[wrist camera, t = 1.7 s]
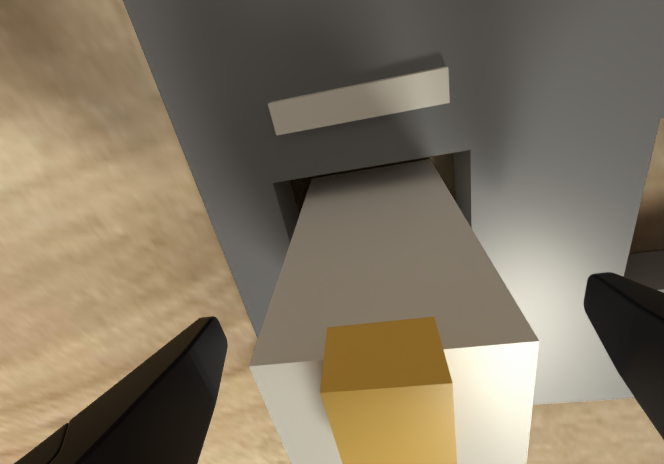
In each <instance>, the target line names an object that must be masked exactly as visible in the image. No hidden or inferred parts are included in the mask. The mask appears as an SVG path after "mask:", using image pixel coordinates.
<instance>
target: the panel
mask: <svg viewBox="0 0 664 464" xmlns="http://www.w3.org/2000/svg"><path fill="white" fill-rule="evenodd" d="M123 2H124V4H125V7H126V9H127V12H128V14H129V17H130V19H131V22H132V24H133V27H134V29H135V32H136V34H137V37H138V39H139V42H140V44H141V47H142V49H143V52H144V54H145V57H146V59H147V62H148V64H149V67H150V69H151V72H152V74H153V77H154V79H155V82H156V84H157V87H158V89H159V92H160V94H161V97H162V99H163V102H164V105H165V107H166V110H167V112H168V115H169V117H170V120H171V122H172V125H173V127H174V130H175V132H176V135H177V137H178V140H179V142H180V145H181V147H182V150H183V152H184V155H185V157H186V160H187V162H188V165H189V167H190V170H191V172H192V175H193V177H194V180H195V182H196V185H197V187H198V190H199V192H200V195H201V197H202V200H203V202H204V205H205V207H206V210H207V212H208V215H209V218H210V220H211V223H212V225H213V228H214V230H215V233H216V235H217V238H218V240H219V243H220V245H221V248H222V250H223V253H224V255H225V258H226V260H227V263H228V265H229V268H230V270H231V273H232V275H233V278H234V280H235V283H236V285H237V288H238V290H239V293H240V295H241V298H242V300H243V303H244V305H245V308H246V310H247V313H248V315H249V318H250V320H251V323H252V326H253V328H254V331H255V333H256V336H257V338H259V335H260V332H261V329H262V326H263V323H264V320H265V317H266V314H267V311H268V308H269V305H270V302H271V299H272V296H273V293H274V290H275V287H276V284H277V281H278V278H279V275H280V272H281V269H282V266H283V263H284V260H285V257H286V254H287V251H288V248H289V245H290V242H291V239H292V236H293V233H294V230H295V227H296V224H297V221H298V218H299V212H298V208H297V204H296V201H295V197H294V193H293V189H292V186H291V182H290V180H294V179H300V178H306V177H312V176H318V175H323V174H329V173H335V172H341V171H347V170H353V169H359V168H365V167H371V166H377V165H383V164H389V163H395V162H401V161H407V160H413V159H419V158H425V157H431V156H437V155H443V154H449V153H454V179H455V202H456V203H457V205H458V207H459V208H460V210H461V212H462V213H463V215H464V217H465V218H466V220H467V222H468V223H469V225H470V227H471V228H472V230H473V232H474V233H475V235H476V237H477V238H478V240H479V242H480V243H481V245H482V247H483V248H484V250H485V252H486V253H487V255H488V257H489V258H490V260H491V262H492V263H493V265H494V267H495V268H496V270H497V272H498V273H499V275H500V276H501V278H502V280H503V281H504V283H505V285H506V286H507V288H508V290H509V291H510V293H511V295H512V296H513V298H514V300H515V301H516V303H517V305H518V306H519V308H520V310H521V311H522V313H523V315H524V316H525V318H526V320H527V321H528V323H529V325H530V326H531V328H532V330H533V331H534V333H535V335H536V336H537V338H538V340H539V349H538V358H537V368H536V377H535V387H534V396H533V405H534V404H550V403H566V402H582V401H598V400H614V399H630V398H635V397H634V396H633V394H632V393H631V391H630V390H629V388H628V387H627V386H626V384H625V383H624V381H623V379H622V378H621V376H620V375H619V373H618V371H617V370H616V368H615V366H614V365H613V363H612V361H611V359H610V357H609V355H608V353H607V352H606V350H605V348H604V346H603V344H602V342H601V341H600V339H599V337H598V335H597V333H596V331H595V329H594V328H593V326H592V324H591V322H590V320H589V318H588V316H587V315H586V312H585V310H584V296H585V290H586V284H587V279H588V277H589V276H590V275H591V274H595V273H604V272H612V273H615V274H618V275H620V276H623V277H625V278H628V279H630V280H633V281H636V282H638V283H641V284H643V285H646V286H648V287H651V288H653V289H656V290H658V291H661V292H663V293H664V250H660V251H651V252H643V253H634V254H629V251H630V247H631V242H632V238H633V234H634V229H635V225H636V221H637V216H638V212H639V208H640V203H641V199H642V195H643V190H644V186H645V182H646V177H647V173H648V169H649V164H650V160H651V156H652V151H653V147H654V143H655V138H656V134H657V130H658V125H659V121H660V118H663V117H664V0H123Z"/></svg>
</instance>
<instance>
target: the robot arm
mask: <svg viewBox="0 0 664 464" xmlns="http://www.w3.org/2000/svg"><path fill="white" fill-rule="evenodd" d="M584 310H585V312H586V315H587V316H588V318H589V320H590V322H591V324H592V326H593V328H594V329H595V331H596V333H597V335H598V337H599V339H600V341H601V342H602V344H603V346H604V348H605V350H606V352H607V353H608V355H609V357H610V359H611V361H612V363H613V365H614V366H615V368H616V370H617V371H618V373H619V375H620V376H621V378H622V379H623V381H624V383H625V384H626V386H627V387H628V388H629V390H630V391H631V393H632V394H633V396H634V397H635V399H636V400H637V402H638V403H639V405H640V406H641V407H642V409H643V410H644V412H645V413H646V415H647V416H648V418H649V419H650V421H651V422H652V423H653V425H654V426H655V428H656V429H657V431H658V432H659V434H660V435H661V437H662V438H663V439H664V293H663V292H661V291H658V290H656V289H653V288H651V287H648V286H646V285H643V284H641V283H638V282H636V281H633V280H630V279H628V278H625V277H623V276H620V275H618V274H615V273H612V272H604V273H595V274H591V275H590V276H589V277H588V279H587V284H586V290H585V296H584ZM226 352H227V339H226V336H225V334H224V332H223V330H222V327H221V325H220V323H219V321H218V319H217V318H216V317H213V316H212V317H203V318H199V319H198V320H196V321H195V322H194V323H193V324H191V325H190V326H189V327H188V328H186V329H185V330H184V331H183V332H181V333H180V334H179V335H177V336H176V337H175V338H174V339H172V340H171V341H170V342H169V343H167V344H166V345H165V346H164V347H162V348H161V349H160V350H158V351H157V352H156V353H155V354H153V355H152V356H151V357H150V358H148V359H147V360H146V361H145V362H143V363H142V364H141V365H139V366H138V367H137V368H136V369H134V370H133V371H132V372H131V373H129V374H128V375H127V376H126V377H124V378H123V379H122V380H120V381H119V382H118V383H117V384H115V385H114V386H113V387H112V388H110V389H109V390H108V391H107V392H105V393H104V394H103V395H101V396H100V397H99V398H98V399H96V400H95V401H94V402H93V403H91V404H90V405H89V406H88V407H86V408H85V409H84V410H82V411H81V412H80V413H79V414H77V415H76V416H75V417H74V418H72V419H71V420H70V421H69V423H66V424H65V425H63V426H62V427H61V428H60V429H58V430H57V431H56V432H55V433H53V434H52V435H51V436H50V437H48V438H47V439H46V440H44V441H43V442H42V443H40V444H39V445H38V446H37V447H35V448H34V449H33V450H31V451H30V452H29V453H27V454H26V455H25V456H24V457H22V458H21V459H20V460H18V461H17V462H15V463H14V464H197V463H198V460H199V457H200V453H201V450H202V447H203V444H204V441H205V437H206V434H207V431H208V428H209V424H210V421H211V418H212V415H213V411H214V408H215V404H216V400H217V396H218V392H219V387H220V382H221V377H222V372H223V367H224V362H225V357H226Z"/></svg>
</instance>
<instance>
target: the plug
mask: <svg viewBox="0 0 664 464" xmlns="http://www.w3.org/2000/svg"><path fill="white" fill-rule="evenodd" d="M538 349H539V340H538V338H537V336H536V335H535V333H534V331H533V330H532V328H531V326H530V325H529V323H528V321H527V320H526V318H525V316H524V315H523V313H522V311H521V310H520V308H519V306H518V305H517V303H516V301H515V300H514V298H513V296H512V295H511V293H510V291H509V290H508V288H507V286H506V285H505V283H504V281H503V280H502V278H501V276H500V275H499V273H498V272H497V270H496V268H495V267H494V265H493V263H492V262H491V260H490V258H489V257H488V255H487V253H486V252H485V250H484V248H483V247H482V245H481V243H480V242H479V240H478V238H477V237H476V235H475V233H474V232H473V230H472V228H471V227H470V225H469V223H468V222H467V220H466V218H465V217H464V215H463V213H462V212H461V210H460V208H459V207H458V205H457V203H456V202H455V200H454V198H453V197H452V195H451V193H450V192H449V190H448V188H447V187H446V185H445V183H444V182H443V180H442V178H441V177H440V175H439V173H438V172H437V170H436V168H435V167H434V165H433V163H432V162H431V160H430V159H427V160H421V161H415V162H409V163H403V164H397V165H391V166H385V167H379V168H373V169H367V170H361V171H355V172H349V173H343V174H337V175H331V176H325V177H319V178H313V179H311V182H310V185H309V188H308V191H307V194H306V197H305V200H304V203H303V206H302V209H301V212H300V215H299V218H298V221H297V224H296V227H295V230H294V233H293V236H292V239H291V242H290V245H289V248H288V251H287V254H286V257H285V260H284V263H283V266H282V269H281V272H280V275H279V278H278V281H277V284H276V287H275V290H274V293H273V296H272V299H271V302H270V305H269V308H268V311H267V314H266V317H265V320H264V323H263V326H262V329H261V332H260V335H259V338H258V341H257V344H256V346H255V349H254V352H253V355H252V358H251V361H250V364H249V368H250V370H251V373H252V375H253V377H254V380H255V382H256V384H257V386H258V389H259V391H260V393H261V396H262V398H263V400H264V403H265V405H266V407H267V409H268V412H269V414H270V416H271V419H272V421H273V423H274V426H275V428H276V430H277V432H278V435H279V437H280V439H281V442H282V444H283V446H284V449H285V451H286V453H287V455H288V458H289V460H290V462H291V464H526V463H527V454H528V444H529V435H530V425H531V416H532V406H533V396H534V387H535V377H536V368H537V358H538Z"/></svg>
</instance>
